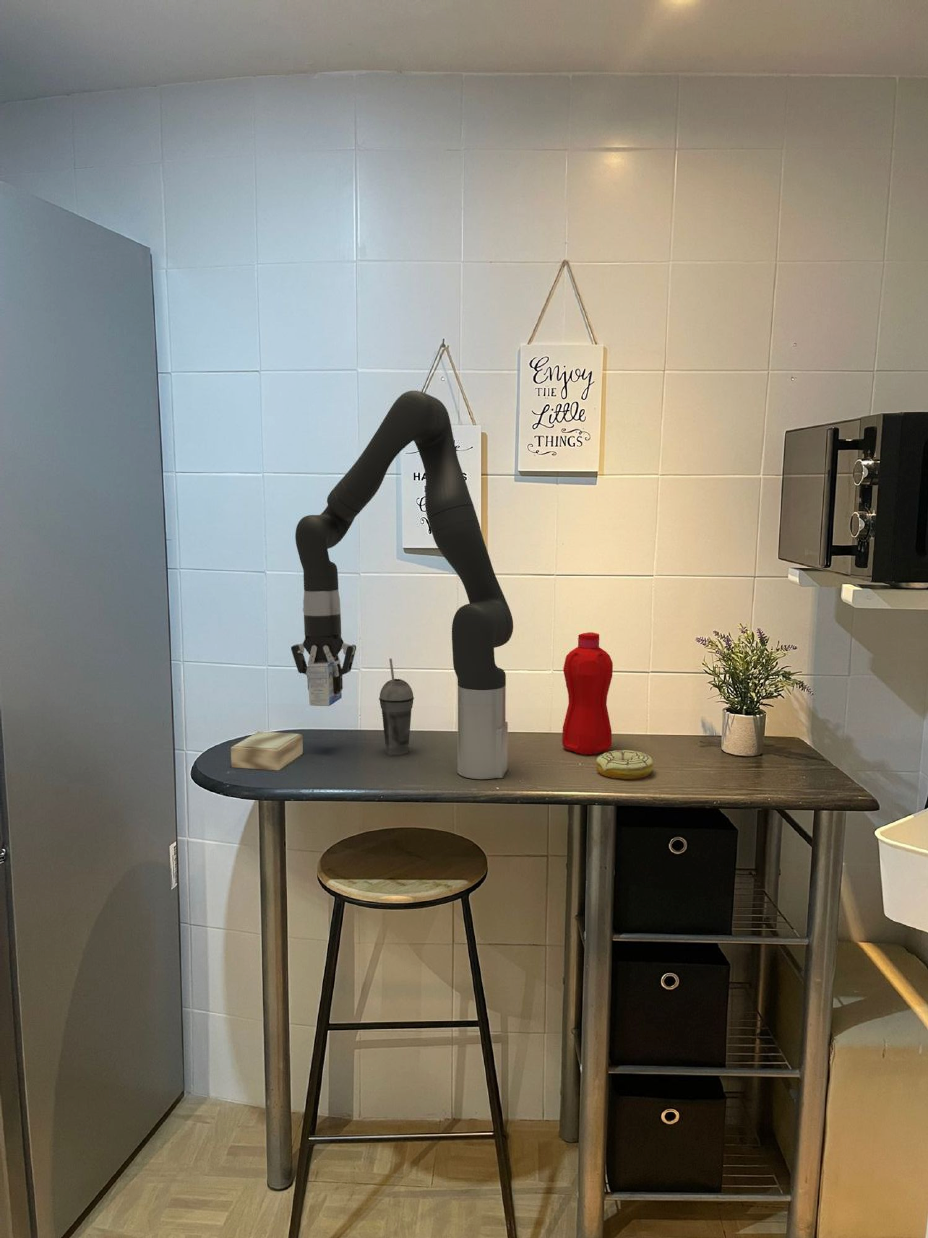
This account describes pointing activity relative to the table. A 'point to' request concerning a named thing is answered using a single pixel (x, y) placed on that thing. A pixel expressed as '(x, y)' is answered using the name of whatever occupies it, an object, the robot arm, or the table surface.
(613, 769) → the decorated donut
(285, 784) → the table surface
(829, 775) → the table surface
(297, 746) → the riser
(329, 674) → the medicine box
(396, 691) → the beverage cup
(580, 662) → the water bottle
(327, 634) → the robot arm
